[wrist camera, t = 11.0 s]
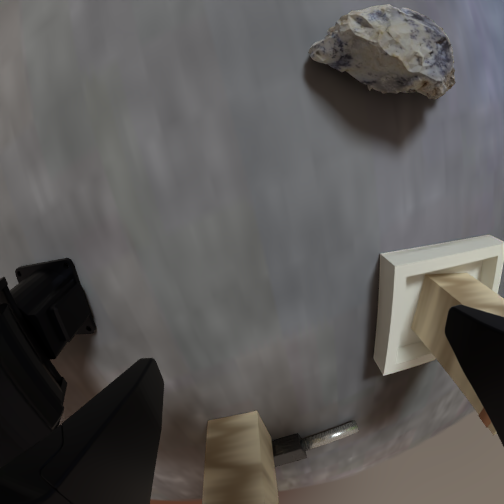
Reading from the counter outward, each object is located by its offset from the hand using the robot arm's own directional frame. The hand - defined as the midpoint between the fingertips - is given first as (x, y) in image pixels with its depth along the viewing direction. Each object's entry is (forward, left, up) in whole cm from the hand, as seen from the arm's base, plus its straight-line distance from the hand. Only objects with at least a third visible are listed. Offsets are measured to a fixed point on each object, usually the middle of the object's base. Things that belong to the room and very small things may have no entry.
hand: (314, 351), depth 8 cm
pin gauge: (+1, -23, -13) cm, 26 cm away
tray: (+14, -8, -13) cm, 21 cm away
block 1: (-5, -20, -13) cm, 24 cm away
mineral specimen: (+9, +12, -13) cm, 20 cm away
